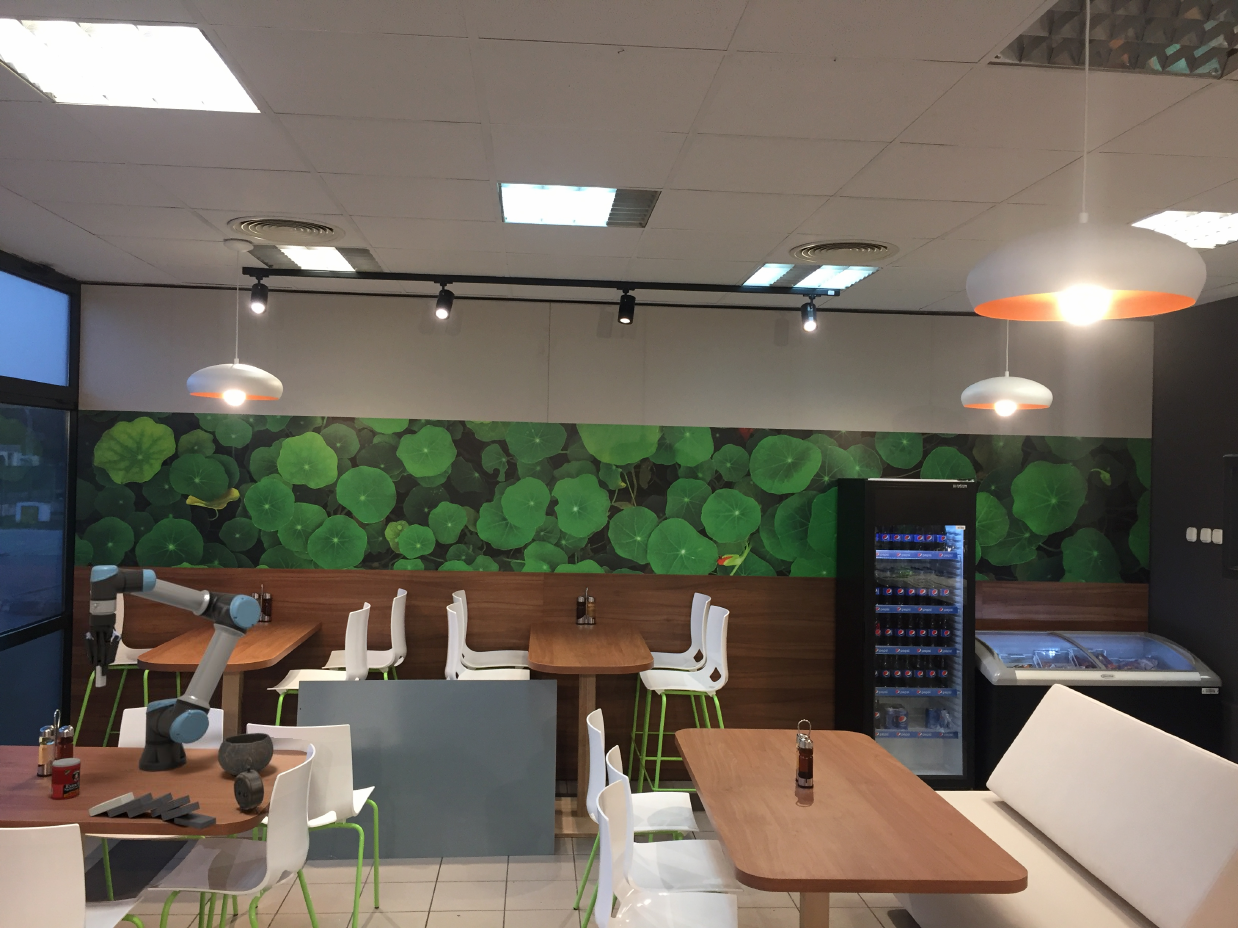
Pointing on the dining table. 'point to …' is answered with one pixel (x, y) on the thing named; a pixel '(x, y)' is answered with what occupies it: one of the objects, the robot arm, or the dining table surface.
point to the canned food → (65, 778)
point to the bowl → (245, 752)
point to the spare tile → (111, 804)
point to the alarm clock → (249, 789)
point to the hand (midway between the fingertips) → (100, 685)
